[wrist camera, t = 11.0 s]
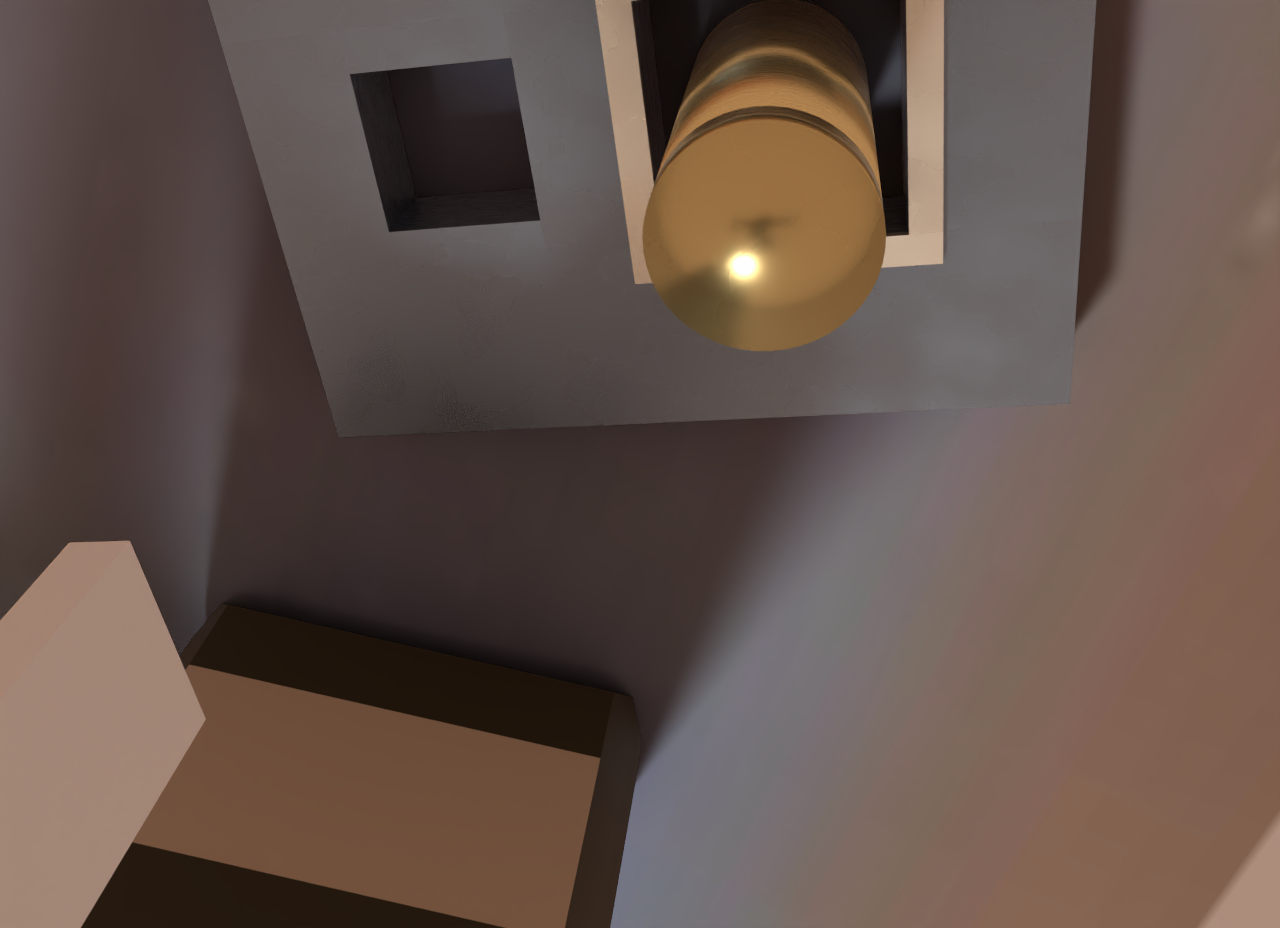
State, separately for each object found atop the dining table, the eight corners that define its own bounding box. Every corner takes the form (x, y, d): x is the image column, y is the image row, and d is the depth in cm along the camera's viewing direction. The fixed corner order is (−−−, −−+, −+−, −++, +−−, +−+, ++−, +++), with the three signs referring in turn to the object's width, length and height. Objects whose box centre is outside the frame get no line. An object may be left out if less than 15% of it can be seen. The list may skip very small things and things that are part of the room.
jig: (366, 394, 37) (300, 496, 32) (199, -201, 29) (79, -179, 24) (1054, 359, 33) (1091, 466, 29) (1093, -333, 25) (1154, -337, 20)
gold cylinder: (700, 182, 32) (658, 357, 24) (681, 8, 30) (626, 134, 21) (870, 167, 31) (889, 344, 23) (864, -12, 29) (883, 110, 21)
